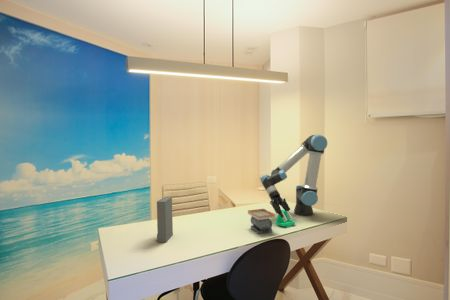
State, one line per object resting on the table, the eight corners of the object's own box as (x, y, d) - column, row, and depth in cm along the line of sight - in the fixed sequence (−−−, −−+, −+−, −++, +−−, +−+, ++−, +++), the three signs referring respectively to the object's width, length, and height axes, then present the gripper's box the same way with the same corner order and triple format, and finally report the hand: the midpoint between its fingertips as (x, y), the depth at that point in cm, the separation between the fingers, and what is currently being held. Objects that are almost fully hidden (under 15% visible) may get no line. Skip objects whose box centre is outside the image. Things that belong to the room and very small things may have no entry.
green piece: (282, 228, 189) (282, 213, 188) (275, 225, 196) (275, 210, 195) (295, 225, 195) (295, 210, 194) (288, 222, 201) (288, 208, 201)
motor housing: (263, 225, 195) (263, 208, 194) (275, 232, 180) (275, 214, 179) (248, 227, 191) (247, 210, 190) (258, 235, 176) (258, 216, 175)
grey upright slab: (163, 234, 180) (163, 196, 179) (173, 234, 179) (172, 196, 178) (156, 242, 166) (155, 201, 165) (166, 242, 165) (165, 201, 164)
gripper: (279, 194, 212) (295, 221, 199) (261, 197, 204) (276, 225, 190) (284, 188, 208) (300, 215, 194) (266, 191, 199) (281, 219, 185)
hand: (288, 220), depth 192 cm, fingers closed on green piece, 4 cm apart
